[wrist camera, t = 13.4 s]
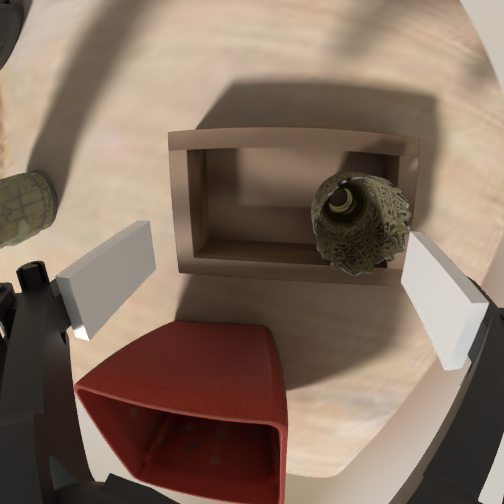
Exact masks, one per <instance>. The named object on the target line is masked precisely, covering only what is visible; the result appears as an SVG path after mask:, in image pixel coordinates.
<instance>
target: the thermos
mask: <svg viewBox="0 0 504 504" xmlns="http://www.w3.org/2000/svg"><path fill="white" fill-rule="evenodd" d="M56 213H57V199H56V193H55V190H54V187H53V184H52V183H51V181H50V179H49V178H48V177H47V176H46V175H45V174H44V173H43V172H40V171H32V172H29V173H27V174H26V173H22V174H17V175H14V176H11V177H7V178H4V179H1V180H0V249H1V248H3V247H5V246H15V245H17V244H19V243H21V242H23V241H25V240H26V239H28V238H30V237H32V236H34V235H36V234H38V233H39V232H40V231H41V230H44V229H46V228H48V227H49V226H51V225H52V223H53V222H54V220H55V217H56Z"/></svg>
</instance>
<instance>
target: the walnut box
mask: <svg viewBox="0 0 504 504" xmlns="http://www.w3.org/2000/svg"><path fill="white" fill-rule="evenodd" d="M168 146H169V166H170V182H171V196H172V209H173V221H174V231H175V241H176V251H177V260H178V268H179V273H187V274H199V275H212V276H226V277H240V278H255V279H270V280H287V281H304V282H323V283H343V284H365V285H391V286H401V278H402V274H403V269H404V263H405V258H406V253H407V247H408V241H409V235H410V234H408V235H407V234H406V235H405V236H404V240H405V249H404V252H403V253H399V254H394V260H393V261H392V262H390V261H388V260H385V259H384V260H382V262H381V263H376V264H374V272H373V273H371V274H367V273H365V272H363V273H360V274H359V275H357V276H352V275H350V274H348V273H346V272H344V270H343V269H341V268H339V267H338V268H337V270H336V269H335V268H334V267H333V266H332V265H331V264H330V261H329V259H328V260H326V259H323V257H322V255H321V254H320V251H318V249H317V246H316V242H315V236H314V230H313V224H312V217H311V209H312V202H313V199H314V196H315V193H316V191H317V190H318V188H319V187H320V185H321V184H322V183H323V182H324V181H325V180H326V179H328V178H329V177H331V176H333V175H335V174H338V173H341V172H346V171H355V172H362V173H366V174H370V175H373V176H377V177H382V178H385V179H387V180H388V181H389V182H390V183H391V184H393V185H394V186H397V187H399V188H400V189H401V190H402V192H401V193H400V194H401V195H402V196H404V197H405V198H406V199H407V201H408V202H409V207H408V208H409V211H410V212H411V214H412V217H411V218H410V219H409V220H407V221H406V223H407V225H408V226H409V227H410V230H411V225H412V218H413V210H414V202H415V192H416V181H417V169H418V152H419V138H413V137H406V136H398V135H391V134H382V133H373V132H363V131H352V130H338V129H322V128H296V127H242V128H216V129H199V130H186V131H174V132H168ZM346 200H347V195H346V193H345V191H343V190H342V189H339V190H337V191H335V192H334V193H333V194H332V196H331V197H330V201H331V203H332V204H333V205H335V206H341V205H343V204H344V203H345V202H346Z"/></svg>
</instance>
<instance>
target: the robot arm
mask: <svg viewBox="0 0 504 504" xmlns="http://www.w3.org/2000/svg"><path fill="white" fill-rule="evenodd" d="M22 19H23V5H22V3H21V1H20V0H0V69H1V68H2V67H3V65H4V64H5V62H6V61H7V59H8V57H9V55H10V54H11V52H12V49H13V47H14V45H15V43H16V40H17V37H18V35H19V32H20V28H21V24H22ZM155 269H156V264H155V258H154V251H153V244H152V236H151V228H150V221H136V222H135V223H133V224H131V225H130V226H128V227H127V228H125V229H124V230H122V231H120V232H119V233H117V234H116V235H114V236H113V237H111V238H110V239H108V240H107V241H105V242H104V243H102V244H101V245H99V246H98V247H96V248H95V249H93V250H92V251H90V252H89V253H87V254H86V255H85V256H83V257H82V258H80V259H79V260H77V261H76V262H75V263H73V264H72V265H70V266H69V267H68V268H66V269H65V270H63V271H62V272H61V273H59V274H58V275H57V276H55V277H56V278H55V279H54V280H53V281H51V282H49V278H48V275H47V271H46V268H45V264H44V262H43V261H33V262H30V263H27V264H25V265H23V266H21V267H20V268H18V269H17V271H16V273H17V276H18V280H19V283H20V286H21V289H22V292H21V293H15V292H14V289H13V286H12V283H9V282H6V283H0V326H1V328H2V331H3V333H4V335H5V336H4V338H2V336H1V333H0V504H180V503H178V502H176V501H174V500H172V499H170V498H168V497H166V496H165V495H163V494H161V493H159V492H157V491H156V490H154V489H152V488H150V487H147V486H144V485H141V484H138V483H135V482H132V481H129V480H127V479H124V478H122V477H119V476H116V475H114V474H111V473H110V474H109V476H108V478H107V480H106V481H105V482H96V481H95V480H94V478H93V477H92V474H91V472H90V469H89V467H88V462H87V459H86V454H85V450H84V445H83V441H82V436H81V431H80V426H79V421H78V415H77V409H76V402H75V395H74V388H73V380H72V370H71V360H70V346H69V337H68V334H67V331H66V330H67V329H68V328H69V327H70V326H72V329H73V331H74V334H75V337H77V338H81V339H84V340H88V341H90V340H91V339H92V337H93V336H94V335H95V334H96V333H97V332H98V331H99V330H100V328H101V327H102V326H103V325H104V324H105V323H106V322H107V321H108V320H109V318H110V317H111V316H112V315H113V314H114V313H115V312H116V311H117V310H118V309H119V307H120V306H121V305H122V304H123V303H124V302H125V301H126V300H127V299H128V298H129V297H130V296H131V295H132V294H133V292H134V291H135V290H136V289H137V288H138V287H139V286H140V285H141V284H142V283H143V282H144V281H145V280H146V279H147V278H148V277H149V276H150V275H151V274H152V273H153V272H154V270H155ZM401 283H402V285H403V287H404V289H405V291H406V292H407V294H408V296H409V298H410V300H411V302H412V304H413V306H414V308H415V309H416V311H417V313H418V315H419V317H420V319H421V321H422V323H423V325H424V327H425V329H426V331H427V333H428V336H429V338H430V340H431V342H432V344H433V346H434V348H435V350H436V353H437V355H438V357H439V359H440V362H441V364H442V366H443V368H444V370H454V369H461V368H462V366H463V364H464V362H465V360H466V358H467V356H469V358H470V360H471V362H472V363H471V365H470V367H469V369H468V371H467V373H466V375H465V377H464V379H463V381H462V382H461V384H460V386H461V388H460V389H459V392H458V394H457V396H456V398H455V400H454V402H453V404H452V406H451V408H450V410H449V412H448V414H447V416H446V418H445V420H444V421H443V423H442V425H441V427H440V429H439V430H438V432H437V434H436V436H435V437H434V439H433V441H432V442H431V444H430V446H429V447H428V449H427V450H426V452H425V454H424V455H423V457H422V459H421V460H420V461H419V463H418V465H417V466H416V467H415V469H414V470H413V472H412V473H411V475H410V476H409V477H408V479H407V480H406V482H405V483H404V484H403V486H402V487H401V488H400V490H399V491H398V492H397V494H396V495H395V496H394V498H393V499H392V500H391V501H390V503H389V504H483V503H481V502H478V498H479V495H480V492H481V490H482V488H483V486H484V484H485V481H486V479H487V477H488V474H489V472H490V469H491V467H492V464H493V462H494V459H495V456H496V454H497V451H498V448H499V445H500V442H501V439H502V436H503V433H504V308H498V307H497V306H496V305H495V304H494V302H493V301H492V300H491V299H490V298H489V296H488V295H486V293H485V292H484V291H483V290H481V287H480V286H479V285H478V284H477V283H476V282H475V281H474V280H472V279H470V278H469V277H467V276H466V275H465V274H464V273H463V272H462V271H461V270H460V269H459V268H458V267H457V266H456V265H455V264H454V262H453V261H452V260H451V259H450V258H449V257H448V256H447V255H446V254H445V253H444V252H443V251H442V250H441V249H440V248H439V247H438V246H437V245H436V244H435V243H434V242H433V241H432V240H431V239H430V238H429V237H428V236H427V235H426V234H425V233H424V232H413V231H410V235H409V241H408V247H407V253H406V258H405V263H404V269H403V274H402V278H401ZM502 504H504V497H503V502H502Z"/></svg>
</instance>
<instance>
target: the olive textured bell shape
mask: <svg viewBox="0 0 504 504" xmlns="http://www.w3.org/2000/svg"><path fill="white" fill-rule="evenodd" d="M339 189H342V190H343V191H345V193H346V195H347V200H346V202H345V203H344V204H343V205H341V206H335V205H333V204H332V203H331V201H330V197H331V196H332V194H333V193H334V192H335V191H337V190H339ZM401 192H402V190H401V189H400V188H399V187H397V186H394V185H393V184H391V183H390V182H389V181H388V180H387V179H385V178H382V177H377V176H373V175H370V174H366V173H362V172H355V171H346V172H341V173H338V174H335V175H333V176H331V177H329V178H328V179H326V180H325V181H324V182H323V183H322V184H321V185H320V187H319V188H318V190H317V191H316V193H315V196H314V199H313V202H312V209H311V217H312V224H313V230H314V236H315V242H316V246H317V249H318V251H320V254H321V255H322V257H323V259H326V260H328V259H329V261H330V264H331V265H332V266H333V267H334V268H335V269H336V270H337V268H338V267H339V268H341V269H343V270H344V272H346V273H348V274H350V275H352V276H357V275H359V274H360V273H363V272H365V273H367V274H371V273H373V272H374V264H376V263H381V262H382V260H384V259H385V260H388V261H390V262H392V261H393V260H394V254H399V253H403V252H404V249H405V240H404V236H405V235H406V234H407V235H408V234H410V231H411V230H410V227H409V226H408V225H407V223H406V221H407V220H409V219H410V218H411V217H412V214H411V212H410V211H409V208H408V207H409V202H408V201H407V199H406V198H405V197H404V196H402V195H401V194H400V193H401Z"/></svg>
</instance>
